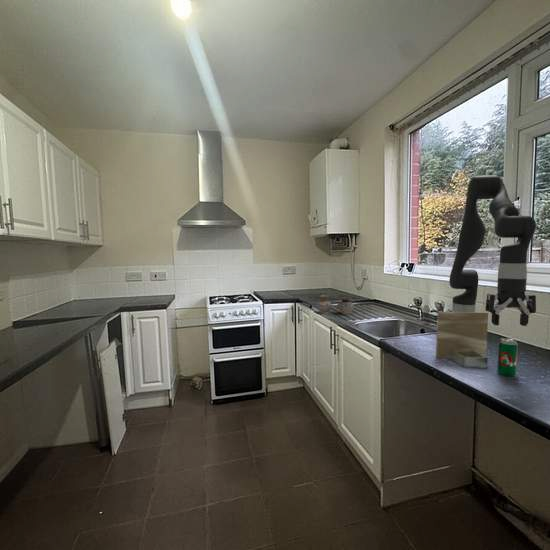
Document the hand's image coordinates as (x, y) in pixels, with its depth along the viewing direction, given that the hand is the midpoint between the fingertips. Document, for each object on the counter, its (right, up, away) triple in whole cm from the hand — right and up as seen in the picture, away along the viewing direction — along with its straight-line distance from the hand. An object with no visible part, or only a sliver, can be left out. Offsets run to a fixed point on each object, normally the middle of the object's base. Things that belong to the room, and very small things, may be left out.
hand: (509, 325), depth 102 cm
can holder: (-6, -16, +12) cm, 21 cm away
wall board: (-5, -16, +18) cm, 25 cm away
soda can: (0, -17, +1) cm, 17 cm away
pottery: (-38, -10, +104) cm, 111 cm away
